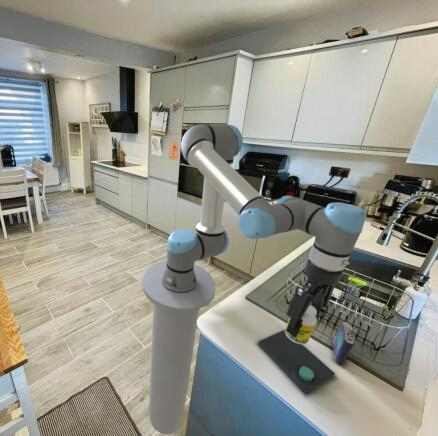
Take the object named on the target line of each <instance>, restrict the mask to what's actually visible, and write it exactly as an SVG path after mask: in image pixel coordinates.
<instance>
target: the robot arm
mask: <svg viewBox="0 0 438 436" xmlns="http://www.w3.org/2000/svg"><path fill="white" fill-rule="evenodd" d="M243 144H244V139H243V134H242V133H241V131H240V129H239V128H238V127H237V126H236V125H233V124H226V123H217V124H216V123H215V124H201V123H200V124H196V125H194V126H191V127H190V128H189V129H187V130H186V132H185V133H184V135H183V137H182V139H181V141H180V149H181V154H182V156H183V158H184V160H185V161H186V162H187V163H188V165H190V166H191V167H194V168H196V169H197V170H198V171H199V172H200V173H201V174H202V176H203V187H202V188H203V189H202V198H201V209H200V219H199V220H200V221H199V222H198V223H197V224H196V226H195V231H193V230H190V229H178V230H175V231H173V232H171V234H169V236H168V239H167V244H166V249H167V250H166V261H167V263H166V267H165V269H164V271H163V273H162V276H161V282H162V284H163V286H164V287H165V288H166V289H168V290H170V291H172V292H176V293H186V292H189V291H191V290H193V289H194V288H195V286H196V276H195V272H194V264H195V262H197V261H200V260H205V259H207V258H208V259H209V258H212V257H217V256H219V255H222V254H224V253H225V252H226V251H227V249H228V247H229V244H230V243H229V241H230V240H229V237H228V233H227V231H226V230H225V227H224V226H223V225H222V221H223V220H222V219H223V213H224V203H225V201H226V202H227V204H228V205H229V206H230V207H231V208H232V210H234V211H235V213H236V214H237V215H238V219H237V220H238V226H239V228H240V232H241V233H242V235H243V236H245V238H249V239H250V240H258V239H267V238H270V237H271V236H276V235H278V234H284V233H288V232H292V231H296V230H298V231H301V232H303V233H305V234H308V235H310V236H313V237H314V241H313V244H312V246H311V249H310V252H309V255H308V259H307V260H306V264H305V266H304V274H305V275H306V281H305V282H304V283H303V286H302V287H301V286H299V285H297V286H296V287H295V289H294V295H293V297H292V299H291V302H290V305H289V306H288V308H287V312H286V316H287V317H288V318H289V317H290V321H289V324H288V327H287V329H286V331H287V332H289V333H290V334H291V335H292V336H293V337H294V338H295V337H297V334H298V332H299V329H300V327H301V324H302V322H303V320H302V317H303V315H304V314H305V312H306V311H307V309H308V307H309V306H310V305H312V306H313V307H314V308H315V309H316V310H317V314H316V316H315V317H316V319H317V320H318V318H319V316H320V314H324V313H326V310H325V309H326V308H327V307H328V305H329V303H330V300H331V298H332V295H333V292H334V289H335V287H336V285H337V284H338V283H339V282H340V280H341V278H342V276H343V274H344V270H345V269H346V266H349V265H350V261H349V259H350V257H351V255H352V253H353V250H354V248H355V246H356V244H357V243H358V240H359V237H360V235H361V233H362V232H363V227H364V225H365V222H366V219H367V212H366V211H365V209H363V208H361V207H359V206H357V205H354V204H349V203H345V202H337V201H336V202H330V203H328V204H327V206H326V207H324V206H322V205H319V204H316V203H313V202H310V201H308V200H305V199H303V198H300V197H297V196H296V197H295V196H292V195H284V196H281V198H279V199H278V200H276V201H275V203H273V204H272V203H270V202H269V201H268V200H267V199H266V198H264V196H263V195H262V194H261V193H260V192H259V191H257V190H256V189H255V188H254V187H253V186H252V184H250V183H249V182H248V181H247V180H246V179H245V178H244V176H242V175H241V174H240V173H238V171H237V170H235V168H234V167H232V166H231V165H233V164H234V159H235V157H237V156H238V155H239V154H240V152H241V151H242V148H243Z"/></svg>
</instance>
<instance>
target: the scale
mask: <svg viewBox="0 0 438 436" xmlns="http://www.w3.org/2000/svg"><path fill="white" fill-rule="evenodd" d="M257 345H258V346H259V347H260V348H261V350H263V352H264V353H266V355H267V356H268V357H269V358H270V360H272V361H273V362H274V363H275V364H276V365H277V367H279V369H280V370H281V371H282V372H283V373H284V375H286V376H287V377H288V378H289V379H290V380H291V381H292V383H294V384H295V386H296V387H297V388H298V389H299V390H300V391H301V392H302V393H303V394H304V395H306V394H308V393H310V392H312V391H315V390H316V389H318V387H319V386H321V385H323V384H325V383H326V382H327V381H329V380H331V379H332V378H334V377H335V375H336V372H334V371H333V370H332V369H331V368H330V367H328V365H326V364H325V363H324V362H323V361H322V360H321V359H320V358H319V357H317V356H316V355H315V354H314V353H313V352H311V350H309V348H307V347H306V346H305V344H297V343H295V342H293V341H291V340H290V339H289V338H288V337H287V336H286V334H285V329H283V330H281V331H279V332H276V333H274V334H272V335H269V336H268V337H265V338H263V339H260V340H259V341H258V343H257ZM302 366H305V367H308V368H309V369H311V370H312V372H313V373H314V377H313V379H312V381H310V382H307V381H305V380H303V379H302V378H301V377H300V375H299V370H300V368H301V367H302Z"/></svg>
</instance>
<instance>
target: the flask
mask: <svg viewBox="0 0 438 436" xmlns="http://www.w3.org/2000/svg"><path fill="white" fill-rule="evenodd" d="M355 332H357V330H356V328H353V327H352V325H351V324H350V323H349V322H346V321H343V322H341V325H340V327H339V329H338V331H337V333H336V335H335V337H334V339H333V341H332V346H333V348H332V350H333V352H334V354H333V355H334V357H333V358H334V359H333V360H334V362H335V363H336V364H337V365H339V366H344V365H345V364H346V361H347V359H348V357H349V355H350V353H351V352H352V349H353V348H354V346H355V344H356V334H355Z"/></svg>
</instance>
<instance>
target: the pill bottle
mask: <svg viewBox="0 0 438 436" xmlns="http://www.w3.org/2000/svg"><path fill="white" fill-rule="evenodd" d="M316 314H317V310H316V309H315V308H314V307H313V306H312V304H310V306H309V307H308V309H307V311H306V312H305V314H304V315H303V317H302V320H303V322H302V324H301V327H300V329H299V332H298V334H297V337H295V338H294V337H293V336H292V335H291V334H290V333H289V332H287V331H286V329H287V327H288V324H289V321H290V317H289V316H288V319H287V323H286V326H285V328H284V330H285V334H286V336H287V337H288V338H289V339H290V340H291V341H293V342H295V343H297V344H302V345H306V344H307V343H308V342H309V341H310V338H311V337H312V334H313V332H314V329H315V327H316V325H317V322H318V318H317V319H316V317H315V316H316Z"/></svg>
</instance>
